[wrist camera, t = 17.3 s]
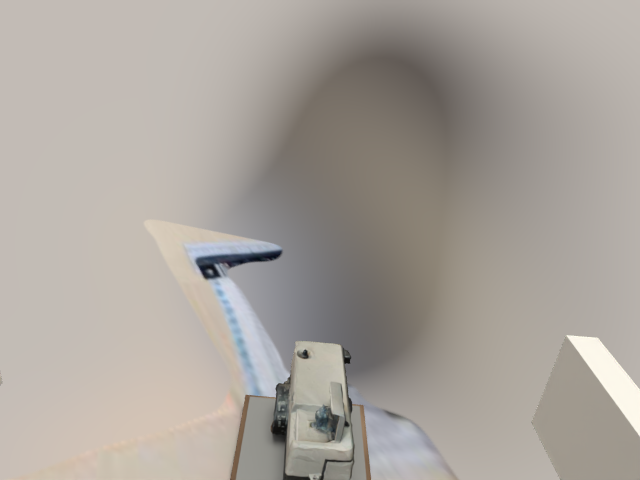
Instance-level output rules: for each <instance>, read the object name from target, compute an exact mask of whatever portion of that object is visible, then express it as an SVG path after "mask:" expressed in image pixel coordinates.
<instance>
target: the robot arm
mask: <svg viewBox="0 0 640 480" xmlns="http://www.w3.org/2000/svg"><path fill="white" fill-rule="evenodd" d="M1 384H2V378H1V373H0V385H1ZM532 425H533V426H534V429H535V430H536V433H537V434H538V436H539V438H540V440H541V442H542V444H543V446H544V448H545V450H546V452H547V454H548V456H549V458H550V460H551V462H552V464H553V466H554V468H555V470H556V472H557V474H558V476H559V478H560V480H640V389H639V388H638V387H637V386H636V385H635V383H634V382H633V381H632V380H631V378H630V377H629V376H628V375H627V373H626V372H625V371H624V370H623V368H622V367H621V366H620V365H619V364H618V362H617V361H616V360H615V359H614V357H612V355H611V354H610V352H609V351H608V350H607V349H606V348H605V346H604V345H603V344H602V343H601V341H600V340H599V339H598V338H593V337H580V336H568V335H566V337H565V339H564V342H563V344H562V347H561V349H560V352H559V355H558V357H557V359H556V362H555V365H554V367H553V370H552V372H551V375H550V377H549V379H548V382H547V385H546V387H545V390H544V392H543V395H542V397H541V400H540V402H539V405H538V407H537V410H536V412H535V415H534V417H533V420H532Z"/></svg>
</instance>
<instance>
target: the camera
mask: <svg viewBox="0 0 640 480" xmlns="http://www.w3.org/2000/svg"><path fill="white" fill-rule="evenodd" d="M295 344H296V347H295V350H294V354H293V359H292V364H291V374H290V377H289V378H288V380H287V381H285V382H284V384H281V383H279V384H278V385H277V386H276V391H277V393H276V401H275V409H274V414H273V415H274V420H273V423H272V425H271V432H272V433H273V434H277V435H283V436H286V438H285V454H284V471H283V480H350V479H351V476H352V468H353V465H354V462H355V461H354V448H355V444H354V440H353V432H352V423H351V413H352V401H351V399H350V398H349V396H348V387H347V377H346V370H345V364H346V363H348V364H349V363H350V359H351V356H350V354H349V352H348V351H347V350H344V348H343V347H342V346H341V345H339V344H330V343H319V342H307V341H297V342H296V343H295Z"/></svg>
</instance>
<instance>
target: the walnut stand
mask: <svg viewBox="0 0 640 480" xmlns="http://www.w3.org/2000/svg"><path fill="white" fill-rule="evenodd" d="M275 401H276V398H275V397H264V396H252V395H246V396H245V402H244V407H243V413H242V418H241V424H240V429H239V435H238V440H237V446H236V451H235V457H234V462H233V468H232V473H231V479H230V480H283V471H284V454H285V438H286V436H283V435H277V434H273V433H272V432H271V425H272V423H273V420H274V415H273V414H274V409H275ZM351 423H352V432H353V440H354V444H355V448H354V461H355V462H354V465H353V468H352V476H351V479H350V480H371V474H370V465H369V455H368V445H367V436H366V426H365V416H364V406H363V405H355V404H352V413H351Z"/></svg>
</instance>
